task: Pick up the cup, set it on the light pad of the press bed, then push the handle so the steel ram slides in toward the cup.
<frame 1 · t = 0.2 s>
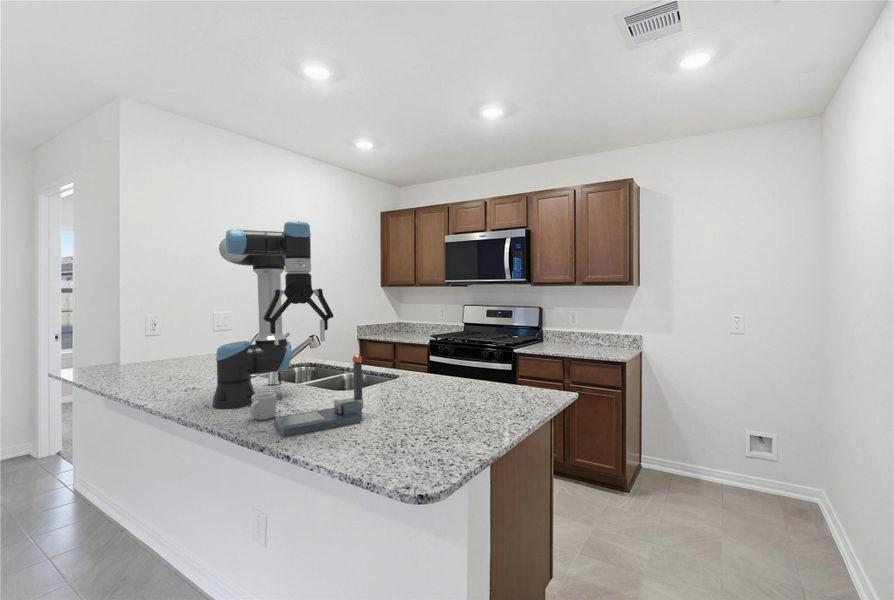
hand: (300, 342, 135), 27 cm above the countertop, fingers open, 13 cm apart
cup: (262, 420, 149), on the countertop
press: (320, 423, 143), on the countertop
ram: (349, 382, 148), point 12 cm above the countertop, slide at 0.0 cm
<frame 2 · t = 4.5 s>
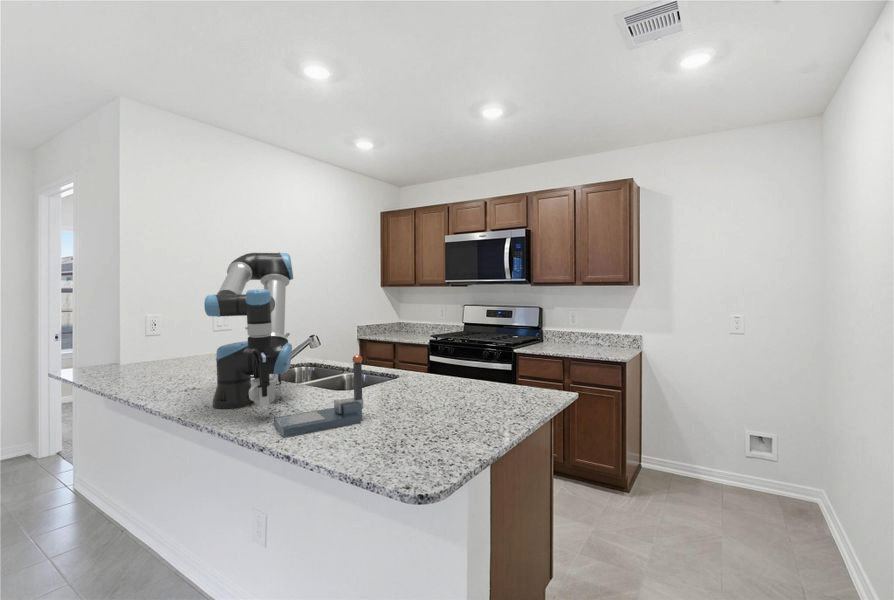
hand: (262, 402, 149), 6 cm above the countertop, fingers closed on cup, 7 cm apart
cup: (261, 404, 148), point 5 cm above the countertop, touching gripper
everything else where it was.
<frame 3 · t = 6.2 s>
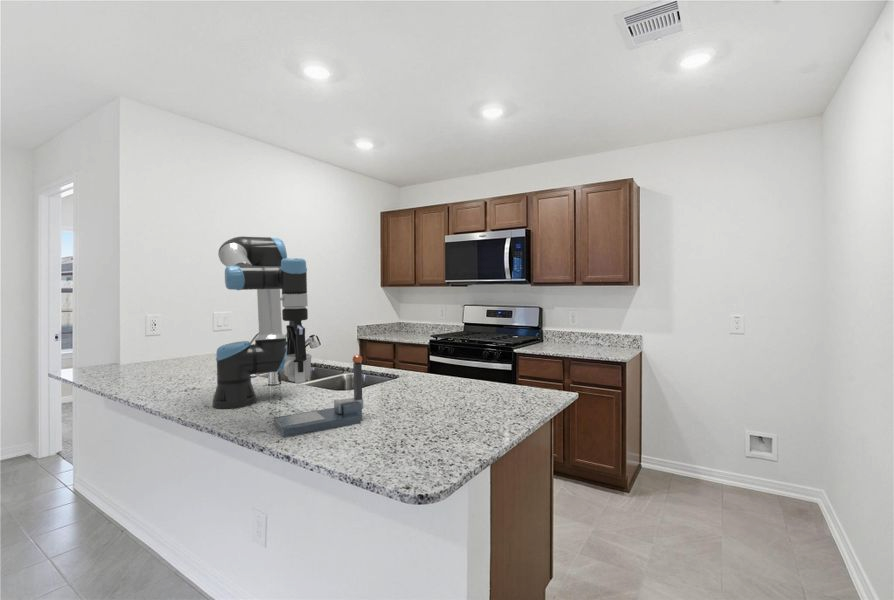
hand: (296, 380, 139), 15 cm above the countertop, fingers closed on cup, 7 cm apart
cup: (296, 382, 138), point 15 cm above the countertop, touching gripper
everything else where it was.
when the fingers open (3 cm above the countertop, at t = 8.2 s): cup stays where it is, resting on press.
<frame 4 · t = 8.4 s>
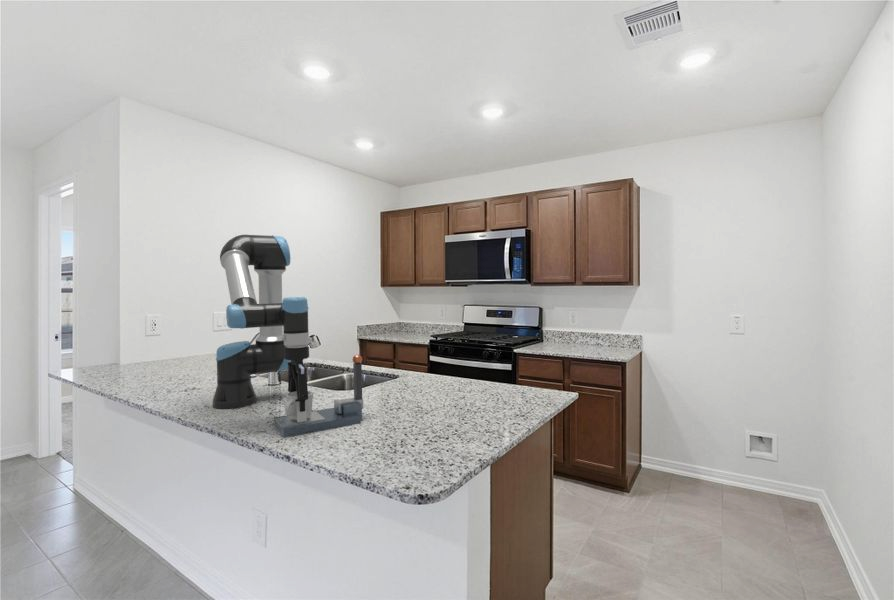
hand: (298, 418, 139), 3 cm above the countertop, fingers open, 8 cm apart
cup: (297, 420, 138), point 3 cm above the countertop, touching gripper, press
everything else where it was.
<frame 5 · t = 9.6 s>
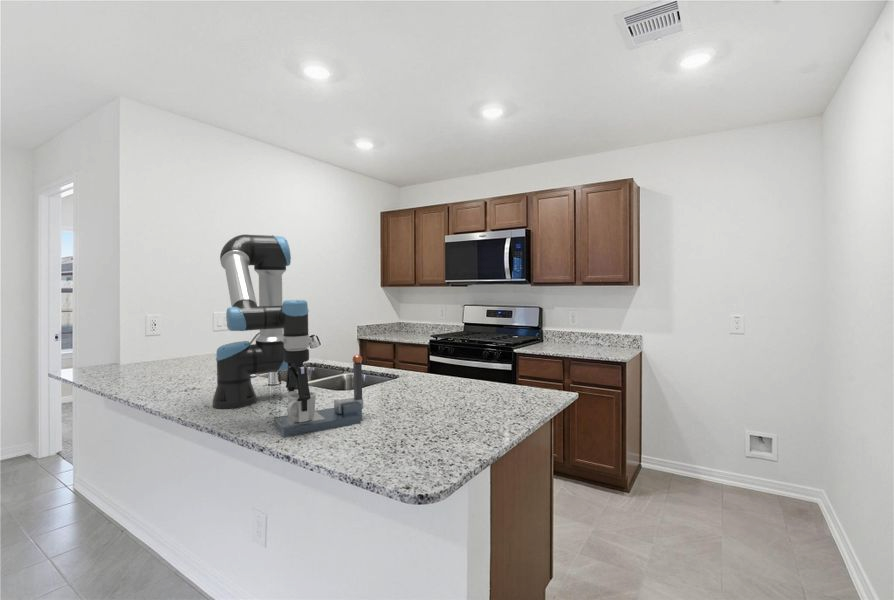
hand: (298, 415, 139), 4 cm above the countertop, fingers open, 13 cm apart
cup: (300, 422, 136), point 3 cm above the countertop, touching gripper, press
everything else where it was.
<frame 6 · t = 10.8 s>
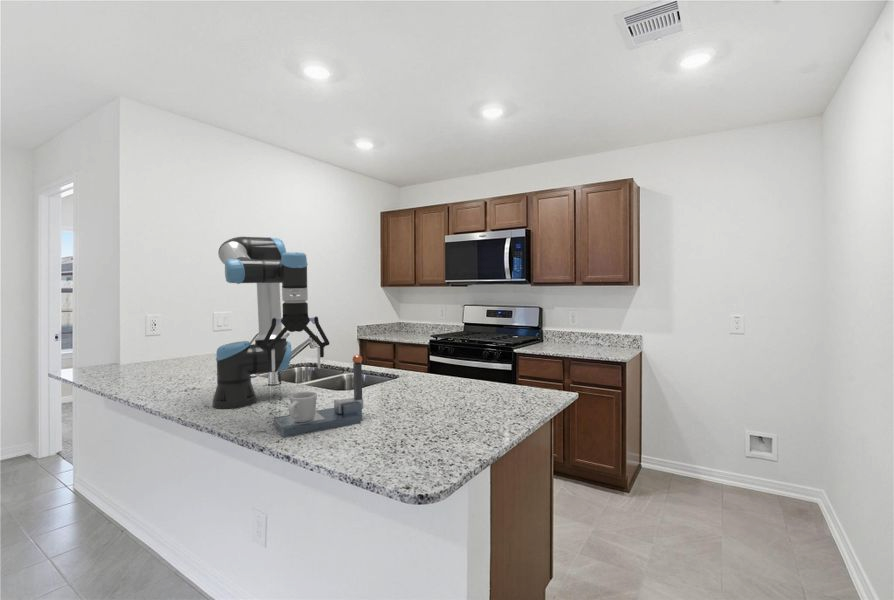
hand: (296, 369, 139), 19 cm above the countertop, fingers open, 13 cm apart
cup: (301, 422, 136), point 3 cm above the countertop, touching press
everything else where it was.
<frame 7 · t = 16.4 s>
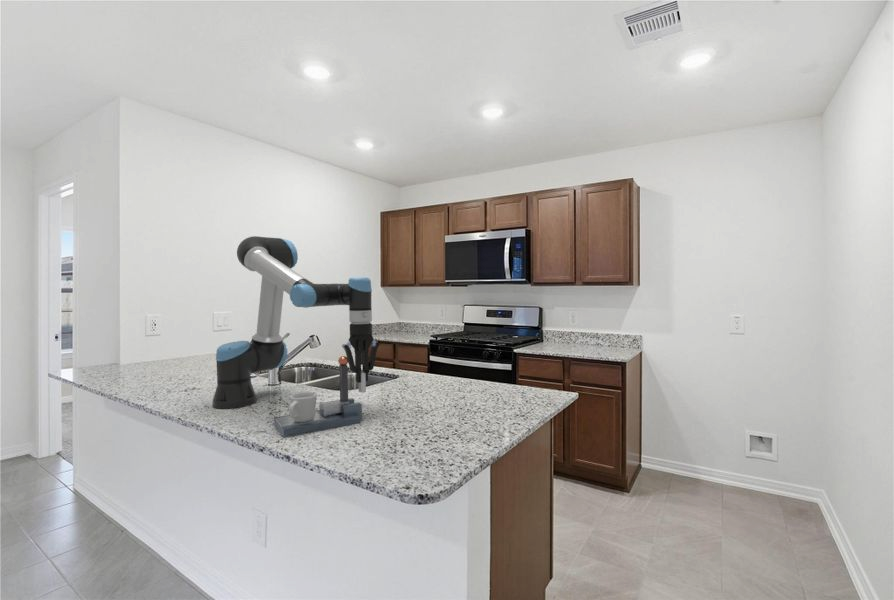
hand: (362, 391, 151), 8 cm above the countertop, fingers closed
ram: (334, 384, 145), point 12 cm above the countertop, slide at 4.9 cm, touching hand
everything else where it was.
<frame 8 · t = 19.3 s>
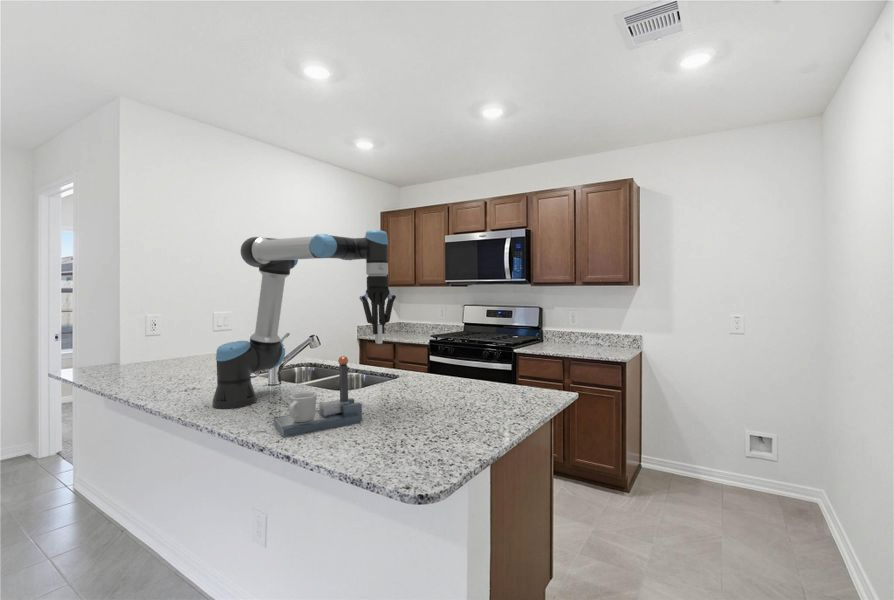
hand: (378, 343, 153), 24 cm above the countertop, fingers closed
ram: (334, 384, 145), point 12 cm above the countertop, slide at 4.9 cm
everything else where it was.
at the end: cup inside the target area on the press (3.6 cm from its centre), point 2.6 cm above the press's base; cup tilted 0°; ram slide at 4.9 cm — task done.
